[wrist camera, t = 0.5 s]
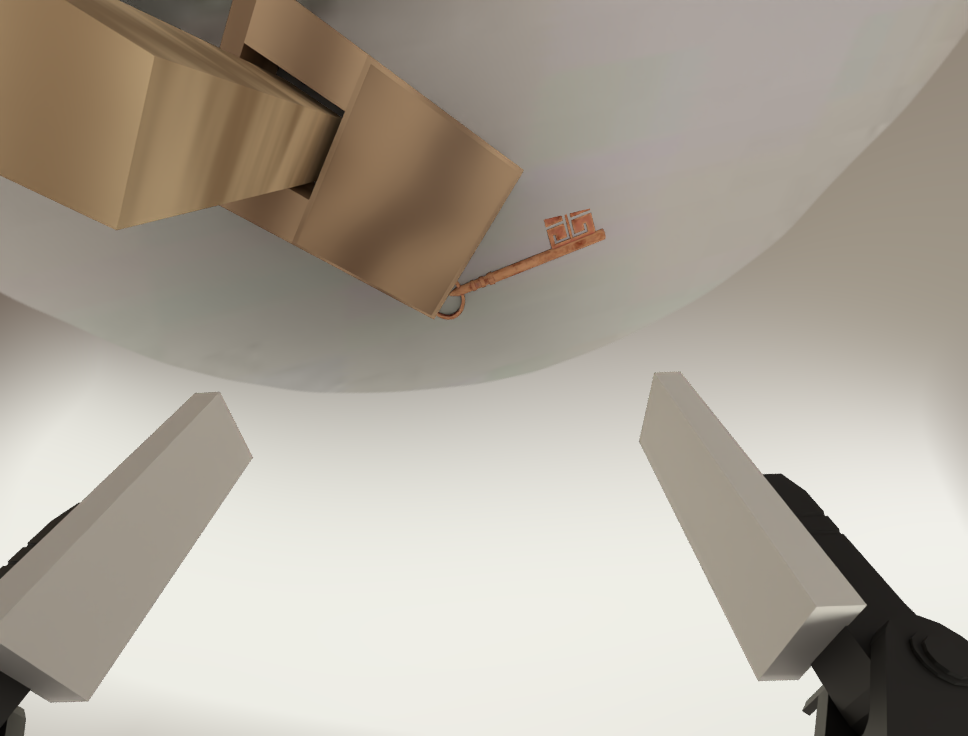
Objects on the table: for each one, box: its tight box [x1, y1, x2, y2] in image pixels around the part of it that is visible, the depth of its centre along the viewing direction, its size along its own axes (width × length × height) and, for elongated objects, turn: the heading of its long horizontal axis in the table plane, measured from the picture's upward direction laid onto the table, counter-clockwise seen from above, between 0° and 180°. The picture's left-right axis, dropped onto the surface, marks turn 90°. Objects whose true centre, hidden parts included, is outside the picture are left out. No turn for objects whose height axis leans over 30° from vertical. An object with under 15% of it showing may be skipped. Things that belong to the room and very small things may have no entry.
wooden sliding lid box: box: [220, 0, 524, 319], centre depth 25 cm, size 16×11×5 cm
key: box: [437, 209, 605, 320], centre depth 31 cm, size 6×1×15 cm
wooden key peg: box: [0, 0, 342, 230], centre depth 17 cm, size 4×4×20 cm
